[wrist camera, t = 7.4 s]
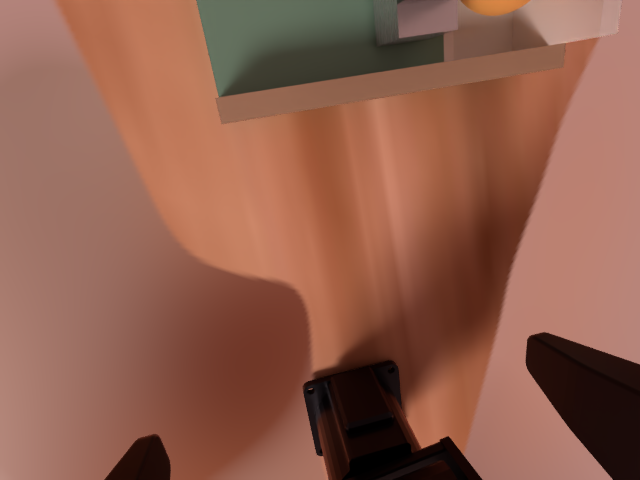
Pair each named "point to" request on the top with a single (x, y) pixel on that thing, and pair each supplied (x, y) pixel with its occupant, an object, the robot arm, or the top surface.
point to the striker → (413, 20)
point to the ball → (494, 6)
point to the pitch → (376, 50)
